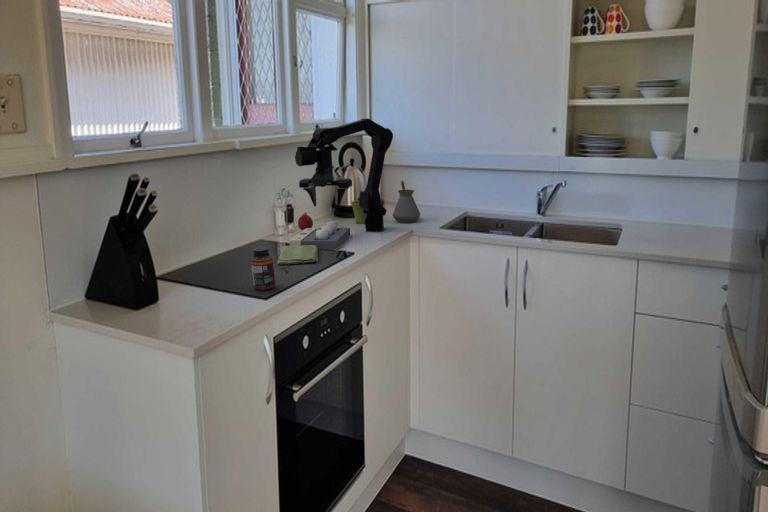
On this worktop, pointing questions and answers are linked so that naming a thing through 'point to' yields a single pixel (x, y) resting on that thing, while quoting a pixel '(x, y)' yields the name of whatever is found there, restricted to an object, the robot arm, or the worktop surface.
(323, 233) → the button
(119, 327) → the worktop surface
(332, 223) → the button
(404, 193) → the coffee pot
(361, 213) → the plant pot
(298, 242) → the tile
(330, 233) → the button
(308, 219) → the onion
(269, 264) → the supplement bottle
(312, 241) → the board
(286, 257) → the washcloth
